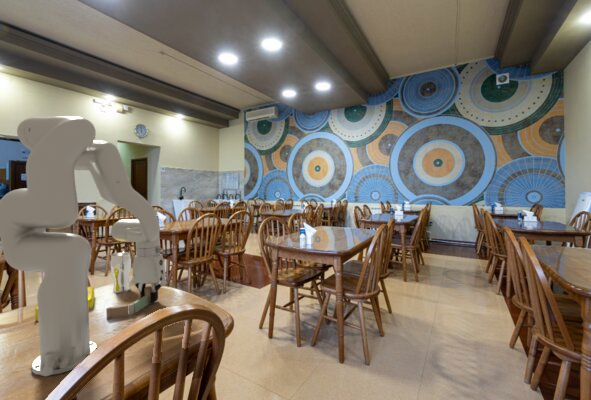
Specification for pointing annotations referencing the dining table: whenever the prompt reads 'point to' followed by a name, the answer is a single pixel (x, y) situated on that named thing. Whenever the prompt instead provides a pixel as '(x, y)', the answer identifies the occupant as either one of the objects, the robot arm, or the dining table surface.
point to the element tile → (90, 301)
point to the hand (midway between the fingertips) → (149, 300)
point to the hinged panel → (143, 300)
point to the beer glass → (121, 271)
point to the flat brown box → (119, 311)
